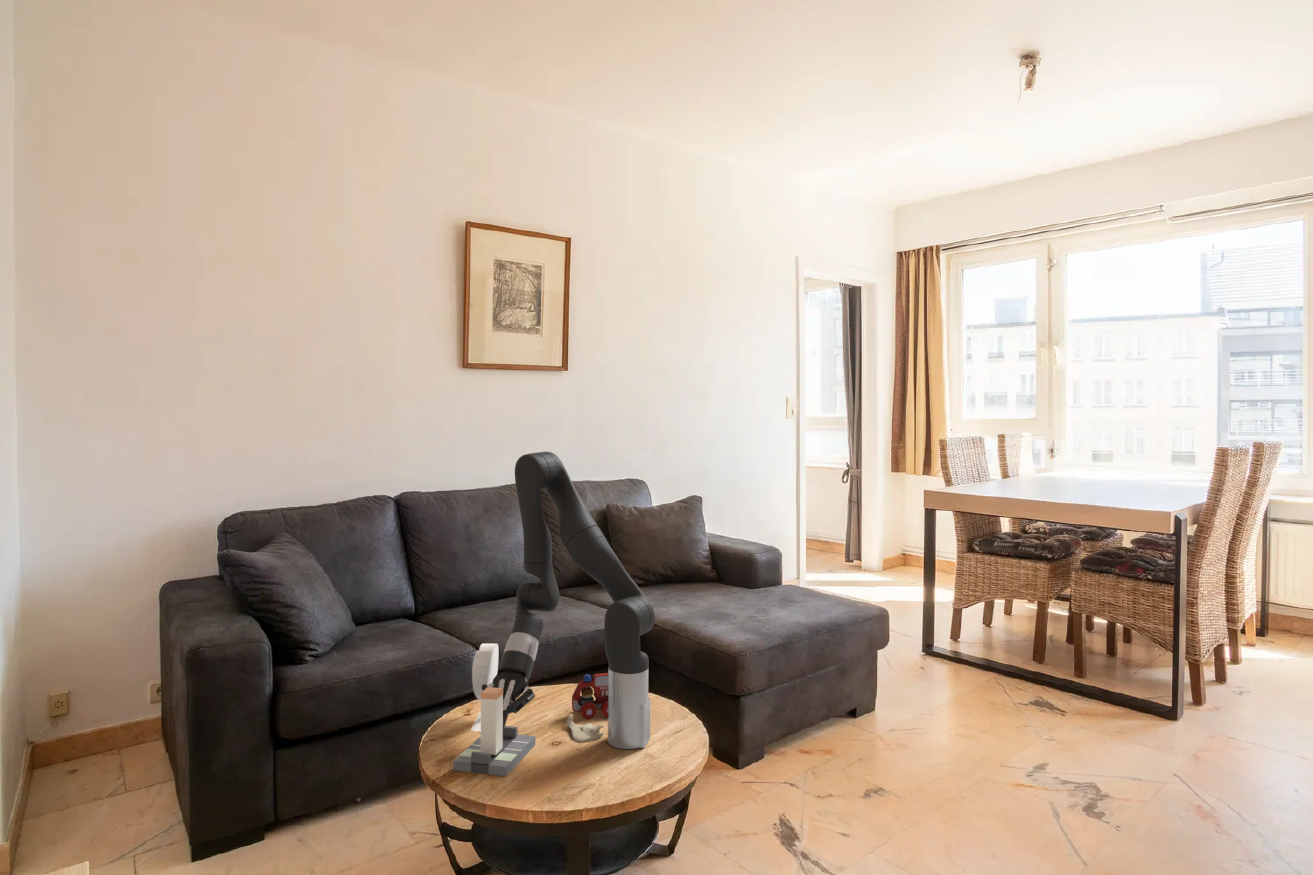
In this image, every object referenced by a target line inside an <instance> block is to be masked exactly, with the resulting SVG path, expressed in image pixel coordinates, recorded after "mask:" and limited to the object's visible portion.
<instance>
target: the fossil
mask: <svg viewBox="0 0 1313 875" xmlns="http://www.w3.org/2000/svg"><path fill="white" fill-rule="evenodd" d="M573 720H574V715H573V713H570V714H569V716H568V717H567V720H566V727H567V728H569V729H570V730H571V736H572V739H573V741H575V742H577V743H585V741H587V742H591V741H595V740H597V739H599V738H601V737H603V735H604V734H603V733H602V732H601V731H600V730H601V729H604V727H605V726H603V725H597V726H595V725H593V723H587V724H585V725H580V724H576V723H574V721H573ZM596 738H597V739H596ZM594 739H595V740H594ZM590 740H591V741H590Z"/></svg>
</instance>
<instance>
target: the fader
mask: <svg viewBox="0 0 1313 875" xmlns="http://www.w3.org/2000/svg"><path fill="white" fill-rule="evenodd" d="M480 711H481V732H480V736H481V752H482V753H490V754H491V755H496V754H497V753H498V752H499V751H500V750H501V749H502V748H503V688H493V687H487V688H486V689H485V690H484V691H482V692H481V700H480Z"/></svg>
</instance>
